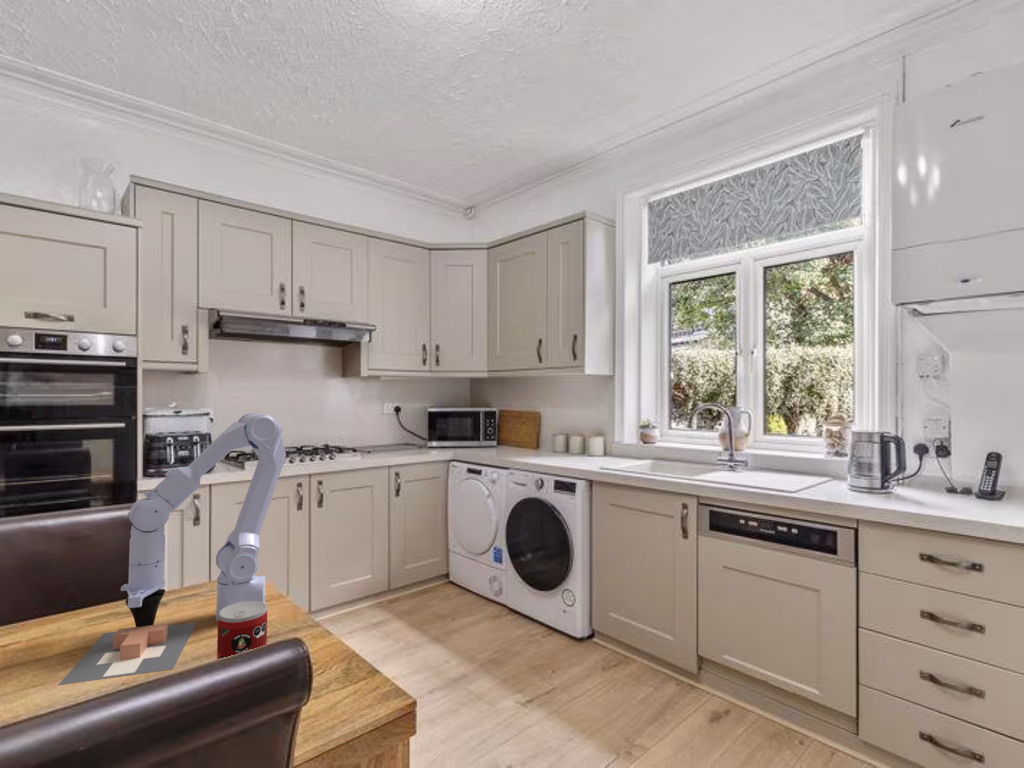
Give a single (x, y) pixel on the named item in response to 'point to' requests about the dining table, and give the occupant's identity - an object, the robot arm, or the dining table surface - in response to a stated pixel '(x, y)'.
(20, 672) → the dining table surface
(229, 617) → the canned food
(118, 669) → the board
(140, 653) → the t block
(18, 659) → the dining table surface
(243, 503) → the robot arm
